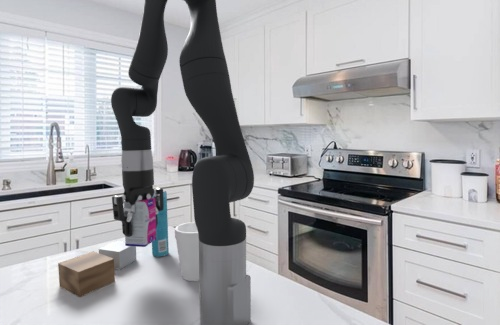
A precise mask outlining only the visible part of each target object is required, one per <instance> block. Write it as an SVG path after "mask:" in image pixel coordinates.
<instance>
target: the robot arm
mask: <svg viewBox="0 0 500 325" xmlns="http://www.w3.org/2000/svg"><path fill="white" fill-rule="evenodd" d="M168 1H169V0H144V3H143V8H142V9H143V12H142V17H141V23H140V29H139V35H138V38H137V43H136V46H135V49H134V52H133V55H132V58H131V61H130V65H129V68H128V77H129V79H130V80H131V81H132V82H133V83H134V84H137V85H138V86H140V88H139V87H129V86H128V87H127V86H118V87H116V88H115V89H114V90H113V92H112V94H111V98H110V105H111V108H112V112H113V114H114V117H115V120H116V122H117V127H118V129H119V134H120V140H121V142H120V144H121V176H122V179H121V180H122V187H123V190H124V191H123V194H121V195H113V196H112V197H111V202H112V212H113V213H112V214H113V220H114V221H118V222H119V221H120V222H121V228H122V234H123V235H124V237H125V236H128V237H130V236H132V222H131V218H132V216H133V214H134V213H135V212H136V202H138V201H141V200H144V199H152V197H153V196H154V198H155V210H156V228H157V224H158V222H157V221H158V219H157V214H158V212H159V211H162V210H163V209H164V203H163V192H164V189H163V188H160V187H155V188H154V187H153V186H154V184H155V178H154V177H155V176H154V175H155V174H154V172H155V171H154V159H153V158H154V157H153V151H152V140H151V139H152V137H151V136H152V135H151V134H152V133H151V131H150V129H149V127H147V126H143V125H139V124H137V123H136V122H135V119H134V118H133V117H139V118H140V117H141V118H146V117H150V116H151V115H153V114H154V113H155V111H156V109H157V105H158V92H159V90H158V89H159V81H160V78H161V76H162V73H163V70H164V68H165V65H166V62H167V60H168V53H169V52H168V50H169V48H168V39H167V34H166V27H165V10H166V5H167V3H168ZM183 1H184V2H185V3H186V5H187V9H188V14H189V20H190V29H189V31H188V35H187V36H186V39H185V40H184V44H183V46H182V48H181V50H180V51H181V52H180V54H179V61H178V62H179V68H180V75H181V80H182V85H183V89H184V90H183V91H184V94H185V96H186V99H187V100H188V102H189V103H190V105H191V106H192V108H193V110H194V111H195V112H196V113H197V115H198V116H199V117H200V119H201V120H202V122H203V123H204V125H205V126H206V128H207V129H208V131H209V133H210V135H211V137H212V140H213V145H214V147H215V153H216V155H212V156H206V157H202V158H201V159H199V160H198V161H197V162H196V163H195V165H194V168H193V170H192V176H191V188H192V189H191V190H192V191H191V192H192V201H193V202H192V204H193V216H194V222H195V224H196V227H197V230H198V236H199V280H198V284H199V285H198V288H199V323H200V324H199V325H248V324H249V323H250V322H251V321H252V320H251V317H252V314H251V312H252V310H251V306H252V305H251V295H252V294H251V293H252V292H251V288H252V287H251V275H249V274H247V226H246V224H245V222H243V220H241V219H238V218H233V217H232V214H231V206H230V203H233V202H238V201H241V200H244V199H246V198H247V197H249V196H250V195H251V193H252V191H253V188H254V184H255V174H254V168H253V165H252V161H251V158H250V154H249V151H248V147H247V144H246V143H245V139H244V136H243V133H242V129H241V125H240V122H239V116H238V112H237V108H236V103H235V100H234V99H235V98H234V95H233V90H232V89H233V88H232V84H231V78H230V74H229V68H228V63H227V60H226V55H225V51H224V47H223V42H222V35H221V30H220V29H221V28H220V24H219V18H218V12H217V10H218V9H217V1H216V0H183ZM124 201H126V202H127V203H128V202H129V203H130V204H131V205H133V206H132V208H131V209H129V208H124V203H125V202H124ZM127 212H128V214H127Z"/></svg>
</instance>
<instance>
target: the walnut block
mask: <svg viewBox="0 0 500 325" xmlns="http://www.w3.org/2000/svg"><path fill="white" fill-rule="evenodd" d="M57 267H58V268H57V269H58V280H59V282H58V283H59V284H58V285H59V288H61V289H63V290H65V291H67V292H68V293H71V294H73V295H75V296H76V297H79V298H81V297H84V296H85V295H88V294H90V293H92V292H95V291H97V290H99V289H101V288H104V287H106V286H108V285H111V284H113V283H115V282H116V274H115V269H114V259H113V258H111V257H108V256H105V255H102V254H99V252H97V251H91V252H88V253H85V254H82V255H78V256H76V257H73V258H70V259H66V260H64V261H61V262H57Z"/></svg>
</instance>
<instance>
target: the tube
mask: <svg viewBox="0 0 500 325" xmlns="http://www.w3.org/2000/svg"><path fill="white" fill-rule="evenodd" d="M167 197H168V196H167V191H166V190H163V203H164V209H163V210H162V211H159V212H158V214H157V219H158V221H157V222H158V224H157V228H156V240H155V241H153V242H152V243H151V253H152V256H153V257H156V258H157V257H158V258H160V257H164V256H167V255H168V254H169V252H170V251H169V250H170V249H169V229H168V227H169V226H168V225H169V222H168V221H169V220H168V198H167ZM152 198H154V196H153V197H152Z"/></svg>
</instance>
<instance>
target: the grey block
mask: <svg viewBox="0 0 500 325" xmlns="http://www.w3.org/2000/svg"><path fill="white" fill-rule="evenodd" d="M98 253H99V254H102V255H105V256H108V257H111V258H113V259H114V270H122V269H123V268H125V267H127V266H128V265H130V264H131V263H133V262H134V261H136V260H137V247H136V246H125V241H123V240H122V241H121V240H115V241H113V242H110V243H109V244H106V245H104V246H101V247H100V248H99V249H98Z"/></svg>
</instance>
